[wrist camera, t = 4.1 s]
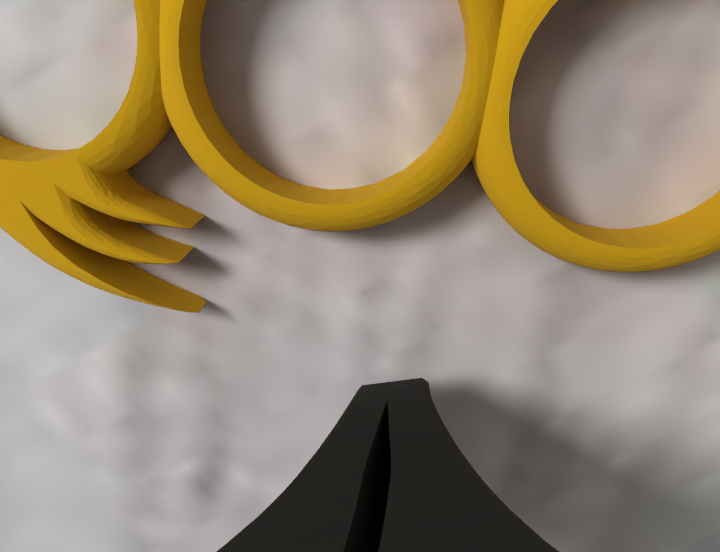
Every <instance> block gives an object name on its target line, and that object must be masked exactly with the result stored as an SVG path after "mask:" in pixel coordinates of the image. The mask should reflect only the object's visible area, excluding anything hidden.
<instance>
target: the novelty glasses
mask: <svg viewBox="0 0 720 552" xmlns="http://www.w3.org/2000/svg"><path fill="white" fill-rule="evenodd" d="M557 1H558V0H458V2H459V6H460V10H461V14H462V18H463V22H464V26H465V42H466V61H465V69H464V76H463V84H462V88H461V91H460V94H459V97H458V99H457V102H456V105H455V107H454V110H453V113H452V115H451V117H450V119H449V120H448V122H447V124H446V125H445V127H444V129H443V130H442V132H441V134H440V135H439V136H438V138H437V139H436V140H435V141H434V142H433V144H432V145H431V146H430V147H429V149H428V150H427V151H426V152H425V153H423V154H422V155H421V156H420V157H419V158H418V159H416V160H415V161H414V162H413V163H412V164H410V165H409V166H408V167H407V168H405V169H404V170H402V171H400V172H398V173H396V174H394V175H392V176H390V177H388V178H386V179H384V180H382V181H380V182H377V183H375V184H372V185H367V186H362V187H357V188H352V189H334V190H328V189H320V188H314V187H308V186H304V185H300V184H297V183H295V182H292V181H289V180H287V179H284V178H282V177H280V176H278V175H276V174H274V173H273V172H271V171H269V170H268V169H266V168H265V167H263V166H261V165H260V164H259V163H257V162H256V161H255V160H254V159H253V158H251V157H250V156H249V155H248V154H247V153H246V152H244V151H243V150H242V149H241V147H240V146H239V145H238V144H237V142H236V141H235V140H234V139H233V137H232V136H231V135H230V134H229V132H228V131H227V130H226V129H225V127H224V125H223V123H222V122H221V120H220V118H219V116H218V115H217V113H216V111H215V109H214V106H213V104H212V101H211V99H210V96H209V93H208V91H207V88H206V84H205V79H204V73H203V68H202V62H201V54H200V51H201V25H202V20H203V14H204V9H205V5H206V2H207V0H134V5H135V11H136V19H137V32H138V42H137V57H136V64H135V70H134V74H133V77H132V81H131V84H130V88H129V91H128V93H127V95H126V97H125V99H124V101H123V103H122V105H121V107H120V110H119V111H118V112H117V114H116V115H115V117H114V118H113V119H112V121H111V122H110V124H109V125H108V126H107V127H106V128H105V129H104V130H103V131H102V132H101V133H100V134H98V135H97V136H96V137H95V138H94V139H93V140H92V141H91V142H89V143H87V144H86V145H84V146H82V147H81V148H79V149H71V150H48V149H40V148H36V147H32V146H28V145H24V144H21V143H18V142H16V141H13V140H11V139H9V138H6V137H4V136H2V135H0V227H1V228H2V229H3V230H4V231H5V232H7V233H8V234H9V235H10V236H11V237H13V238H14V239H15V240H16V241H17V242H19V243H20V244H21V245H23V246H24V247H25V248H27V249H28V250H29V251H31V252H32V253H33V254H35V255H36V256H38V257H39V258H41V259H42V260H44V261H45V262H47V263H48V264H50V265H52V266H53V267H55V268H57V269H58V270H60V271H62V272H64V273H66V274H68V275H69V276H71V277H74V278H76V279H78V280H80V281H82V282H84V283H87V284H89V285H91V286H94V287H96V288H99V289H102V290H104V291H107V292H110V293H113V294H116V295H119V296H122V297H125V298H129V299H132V300H136V301H140V302H143V303H147V304H151V305H156V306H160V307H165V308H170V309H174V310H179V311H185V312H200V310H201V309H202V308H203V306H204V305H205V303H206V301H205V300H204V299H203V298H202V297H200V296H198V295H195V294H193V293H191V292H188V291H186V290H184V289H181V288H179V287H177V286H175V285H173V284H171V283H168V282H166V281H164V280H162V279H160V278H158V277H156V276H154V275H151V274H150V273H148V272H146V271H144V270H142V269H140V268H138V267H137V266H135V265H133V264H131V263H129V262H135V263H146V264H166V263H179V262H180V261H181V260H182V259H183V258H184V257H185V256H186V255H187V254H188V253H189V252H190V251H191V250H192V249H193V248H194V247H193V246H190V245H186V244H183V243H180V242H177V241H174V240H171V239H168V238H165V237H162V236H159V235H157V234H154V233H152V232H150V231H148V230H145V229H143V228H141V227H139V226H137V225H135V224H133V223H132V222H136V223H143V224H152V225H161V226H170V227H179V228H192V227H193V226H194V225H195V224H196V223H197V222H198V221H200V220H201V219H202V218H203V217H204V216H205V215H203V214H201V213H199V212H197V211H194V210H192V209H190V208H188V207H186V206H183V205H181V204H179V203H176V202H174V201H172V200H169V199H167V198H165V197H162V196H160V195H158V194H155V193H153V192H151V191H149V190H147V189H145V188H144V187H143V186H141V185H140V184H138V183H137V182H136V181H135V180H134V179H133V177H132V176H131V175H130V173H129V172H128V170H127V169H129V168H131V167H132V166H134V165H135V164H137V163H138V162H140V161H141V160H142V159H143V158H145V157H146V156H147V155H148V154H149V153H150V152H151V151H153V149H154V148H155V147H156V146H157V145H158V144H159V143H160V142H161V140H162V139H163V138H164V137H165V136H166V134H167V133H168V132H169V130H170V129H171V127H173V129H174V131H175V133H176V134H177V136H178V138H179V140H180V142H181V144H182V145H183V146H184V148H185V149H186V151H187V152H188V154H189V155H190V157H191V158H192V159H193V161H194V162H195V163H196V164H197V165H198V166H199V168H200V169H201V170H202V171H203V172H204V173H205V174H206V175H207V176H208V177H209V179H210V180H211V181H213V182H214V183H215V184H216V185H217V186H218V187H219V188H220V189H222V190H223V191H224V192H225V193H226V194H228V195H229V196H231V197H232V198H233V199H235V200H236V201H237V202H239V203H240V204H242V205H243V206H245V207H247V208H249V209H251V210H252V211H254V212H256V213H258V214H260V215H262V216H265V217H267V218H270V219H272V220H275V221H278V222H281V223H284V224H287V225H290V226H294V227H299V228H305V229H310V230H320V231H348V230H355V229H362V228H369V227H373V226H376V225H379V224H383V223H386V222H389V221H392V220H395V219H398V218H400V217H402V216H404V215H406V214H408V213H410V212H412V211H414V210H416V209H417V208H419V207H421V206H422V205H424V204H426V203H427V202H429V201H430V200H431V199H433V198H434V197H435V196H437V195H438V194H439V193H441V192H442V191H443V190H444V189H445V188H446V187H447V186H448V185H449V184H450V183H452V182H453V181H454V180H455V179H456V177H457V176H458V175H459V174H460V173H461V172H462V171H463V170H464V169H465V167H466V166H467V165H468V164H469V162H470V161H471V160H472V164H473V166H474V169H475V171H476V174H477V176H478V179H479V181H480V183H481V185H482V187H483V188H484V190H485V192H486V194H487V196H488V197H489V199H490V201H491V202H492V204H493V205H494V207H495V208H496V210H497V211H498V212H499V213H500V215H501V216H502V217H503V218H504V219H505V221H506V222H507V223H508V224H509V225H510V226H511V227H512V228H513V229H514V230H515V231H517V232H518V233H519V234H520V235H521V236H522V237H523V238H525V239H526V240H528V241H529V242H530V243H532V244H533V245H535V246H536V247H538V248H540V249H541V250H543V251H545V252H547V253H549V254H551V255H553V256H555V257H557V258H560V259H562V260H565V261H567V262H570V263H573V264H576V265H579V266H583V267H588V268H592V269H598V270H605V271H615V272H638V271H651V270H657V269H663V268H669V267H674V266H677V265H681V264H684V263H687V262H690V261H694V260H697V259H700V258H703V257H705V256H707V255H709V254H712V253H714V252H716V251H718V250H720V191H719V192H718V193H717V194H716V195H715V196H713V197H712V198H710V199H709V200H707V201H705V202H704V203H702V204H700V205H699V206H697V207H696V208H694V209H692V210H691V211H689V212H687V213H685V214H682V215H680V216H677V217H675V218H672V219H670V220H667V221H665V222H662V223H659V224H655V225H650V226H644V227H638V228H632V229H605V228H599V227H594V226H589V225H583V224H579V223H576V222H574V221H572V220H570V219H568V218H566V217H564V216H561V215H559V214H557V213H555V212H553V211H552V210H550V209H549V208H548V207H546V206H545V205H544V204H543V203H541V202H540V201H539V200H537V199H536V198H535V197H534V196H533V195H532V194H531V193H530V191H529V190H528V188H527V187H526V185H525V183H524V182H523V180H522V177H521V175H520V172H519V170H518V167H517V165H516V162H515V160H514V155H513V150H512V146H511V141H510V130H509V108H510V98H511V93H512V87H513V81H514V78H515V75H516V72H517V69H518V66H519V63H520V60H521V57H522V55H523V53H524V51H525V49H526V47H527V45H528V43H529V41H530V39H531V37H532V35H533V33H534V31H535V30H536V29H537V27H538V26H539V24H540V23H541V21H542V20H543V19H544V17H545V16H546V14H547V13H548V11H549V10H550V9H551V7H552V6H553V5H554V4H555V3H556V2H557ZM130 221H131V222H130ZM127 261H129V262H127Z"/></svg>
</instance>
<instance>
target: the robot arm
mask: <svg viewBox="0 0 720 552" xmlns="http://www.w3.org/2000/svg"><path fill="white" fill-rule="evenodd" d="M217 552H559V551H557V550H556V549H555V548H553V547H552V546H551V545H549V544H548V543H547V542H546V541H544V540H543V539H542V538H541V537H540V536H539V535H538V534H536V533H535V532H534V531H533V530H532V529H531V528H530V527H529V526H527V525H526V524H525V523H524V522H523V521H522V520H521V519H520V518H519V517H517V516H516V515H515V514H514V513H513V512H512V511H511V510H510V509H509V508H508V507H507V506H506V505H505V504H504V503H503V502H502V501H501V500H500V499H499V498H498V497H497V496H496V495H495V494H494V493H493V491H492V490H491V489H490V488H489V487H488V486H487V485H486V483H485V482H484V481H483V480H482V479H481V478H480V476H479V475H478V474H477V473H476V471H475V470H474V469H473V468H472V466H471V465H470V464H469V462H468V461H467V460H466V458H465V457H464V455H463V454H462V453H461V451H460V450H459V448H458V447H457V445H456V444H455V442H454V441H453V439H452V437H451V436H450V434H449V432H448V431H447V429H446V427H445V426H444V424H443V422H442V420H441V418H440V417H439V415H438V413H437V410H436V408H435V406H434V404H433V401H432V398H431V395H430V389H429V384H428V382H427V381H425V380H424V379H423V378H418V379H410V380H402V381H394V382H386V383H378V384H370V385H362V386H361V387H360V389H359V390H358V391H357V393H356V394H355V396H354V397H353V399H352V401H351V402H350V404H349V405H348V407H347V408H346V410H345V412H344V413H343V415H342V416H341V418H340V419H339V421H338V422H337V424H336V425H335V427H334V428H333V430H332V431H331V432H330V434H329V435H328V437H327V438H326V439H325V441H324V442H323V444H322V445H321V446H320V448H319V449H318V451H317V452H316V453H315V454H314V456H313V457H312V458H311V459H310V461H309V462H308V463H307V464H306V466H305V467H304V468H303V469H302V471H301V472H300V473H299V474H298V476H297V477H296V478H295V479H294V480H293V482H292V483H291V484H290V485H289V486H288V487H287V488H286V489H285V490H284V492H283V493H282V494H281V495H280V496H279V497H278V498H277V499H276V500H275V501H274V502H273V503H272V504H271V505H270V506H269V507H268V508H267V509H266V510H265V511H264V512H263V513H261V514H260V515H259V516H258V517H257V518H256V519H255V520H254V521H252V522H251V523H250V524H249V525H248V526H247V527H245V528H244V529H243V530H242V531H241V532H240V533H238V534H237V535H236V536H235V537H234V538H233V539H231V540H230V541H229V542H228V543H227V544H226V545H224V546H223V547H222V548H221V549H219V550H218V551H217Z"/></svg>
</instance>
